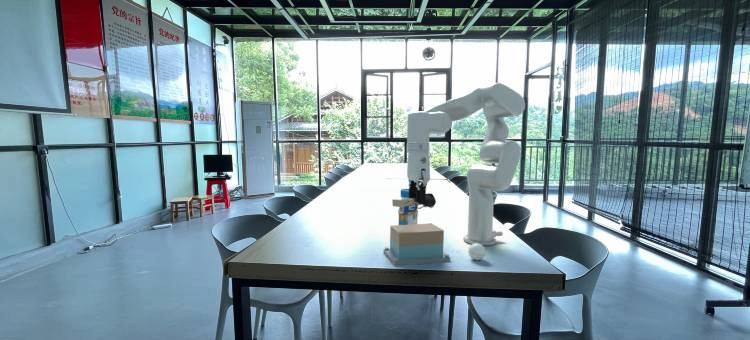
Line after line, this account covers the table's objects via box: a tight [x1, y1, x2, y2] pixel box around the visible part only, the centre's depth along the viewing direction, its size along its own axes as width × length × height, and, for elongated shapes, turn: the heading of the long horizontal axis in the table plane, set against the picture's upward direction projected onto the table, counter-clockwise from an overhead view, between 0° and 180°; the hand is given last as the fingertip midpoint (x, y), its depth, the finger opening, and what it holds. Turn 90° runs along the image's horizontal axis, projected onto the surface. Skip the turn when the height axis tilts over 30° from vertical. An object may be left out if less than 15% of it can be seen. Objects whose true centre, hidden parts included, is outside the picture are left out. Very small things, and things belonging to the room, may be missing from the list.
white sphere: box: [468, 243, 492, 261], centre depth 110 cm, size 8×6×6 cm
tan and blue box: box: [383, 223, 451, 267], centre depth 113 cm, size 20×13×10 cm, turn 104°
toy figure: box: [391, 192, 437, 210], centre depth 113 cm, size 7×6×15 cm
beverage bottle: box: [397, 188, 419, 225], centre depth 138 cm, size 8×8×20 cm
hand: (416, 199), depth 112 cm, fingers closed on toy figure, 6 cm apart
